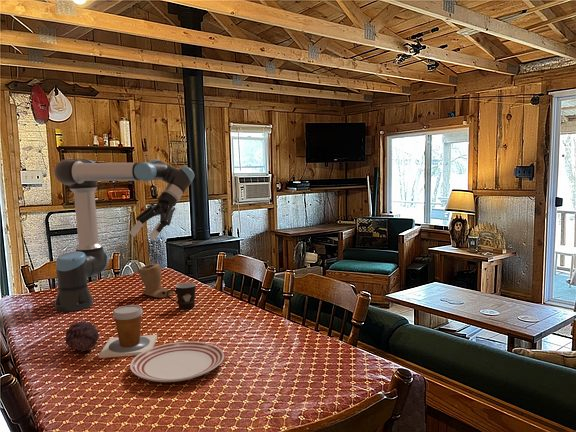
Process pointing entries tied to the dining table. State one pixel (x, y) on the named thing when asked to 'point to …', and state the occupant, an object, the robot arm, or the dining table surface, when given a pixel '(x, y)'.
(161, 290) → the tan irregular lump
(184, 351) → the dinner plate
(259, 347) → the dining table surface
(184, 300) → the coffee mug
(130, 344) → the disposable coffee cup
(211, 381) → the dining table surface
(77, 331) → the pine cone
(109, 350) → the board
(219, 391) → the dining table surface
